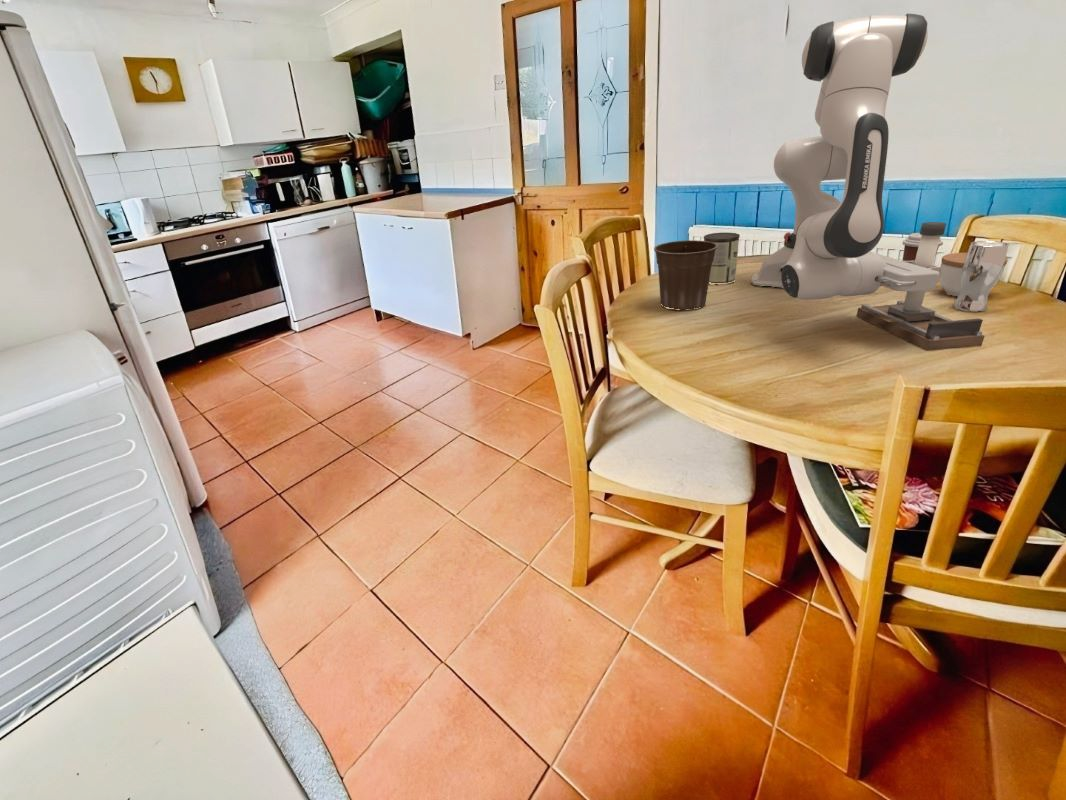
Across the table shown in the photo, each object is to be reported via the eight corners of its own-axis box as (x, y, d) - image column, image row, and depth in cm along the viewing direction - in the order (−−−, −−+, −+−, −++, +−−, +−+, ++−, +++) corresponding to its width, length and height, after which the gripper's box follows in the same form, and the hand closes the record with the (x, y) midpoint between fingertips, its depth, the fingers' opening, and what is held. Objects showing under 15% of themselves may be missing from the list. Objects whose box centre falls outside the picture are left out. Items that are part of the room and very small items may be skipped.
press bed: (856, 315, 121) (860, 295, 119) (901, 311, 121) (906, 291, 119) (927, 350, 101) (934, 326, 98) (981, 345, 101) (989, 321, 98)
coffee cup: (891, 280, 144) (901, 237, 139) (896, 273, 150) (907, 231, 145) (930, 283, 139) (943, 238, 133) (934, 275, 145) (946, 232, 139)
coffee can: (701, 277, 165) (704, 232, 159) (735, 277, 162) (739, 231, 155) (700, 285, 157) (703, 238, 150) (735, 285, 153) (740, 237, 147)
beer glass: (994, 312, 116) (1017, 245, 109) (959, 313, 117) (980, 247, 110) (977, 303, 122) (998, 239, 115) (944, 304, 123) (963, 241, 116)
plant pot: (689, 317, 131) (693, 254, 123) (640, 307, 142) (641, 249, 135) (724, 302, 139) (730, 242, 132) (676, 293, 151) (678, 238, 143)
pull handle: (887, 313, 114) (909, 223, 105) (913, 311, 114) (937, 220, 105) (905, 321, 109) (930, 227, 100) (933, 319, 109) (960, 224, 100)
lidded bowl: (921, 293, 132) (932, 250, 127) (952, 284, 136) (964, 242, 131) (975, 303, 122) (990, 257, 117) (1007, 294, 126) (1022, 249, 121)
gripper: (899, 269, 96) (971, 263, 96) (837, 250, 114) (897, 244, 114) (891, 301, 99) (961, 295, 99) (832, 277, 117) (890, 272, 117)
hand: (926, 267), depth 107 cm, fingers open, 4 cm apart
